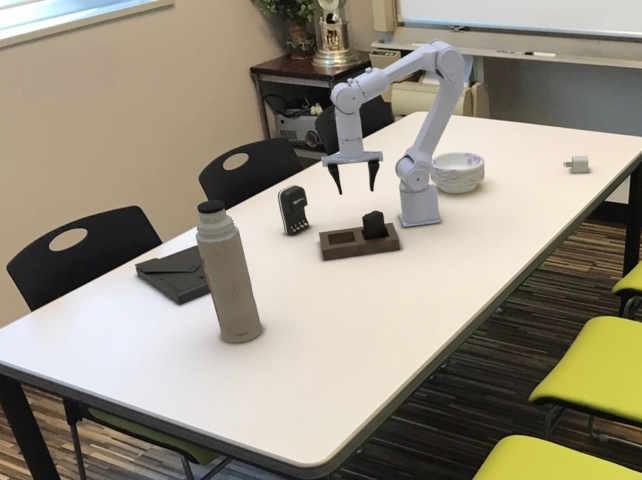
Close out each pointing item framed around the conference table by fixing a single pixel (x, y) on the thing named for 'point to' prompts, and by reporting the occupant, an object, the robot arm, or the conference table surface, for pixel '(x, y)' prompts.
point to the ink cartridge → (374, 225)
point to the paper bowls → (457, 171)
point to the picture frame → (177, 275)
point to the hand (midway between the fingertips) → (356, 191)
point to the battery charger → (293, 209)
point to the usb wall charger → (578, 164)
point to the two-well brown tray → (356, 242)
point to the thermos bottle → (227, 273)
